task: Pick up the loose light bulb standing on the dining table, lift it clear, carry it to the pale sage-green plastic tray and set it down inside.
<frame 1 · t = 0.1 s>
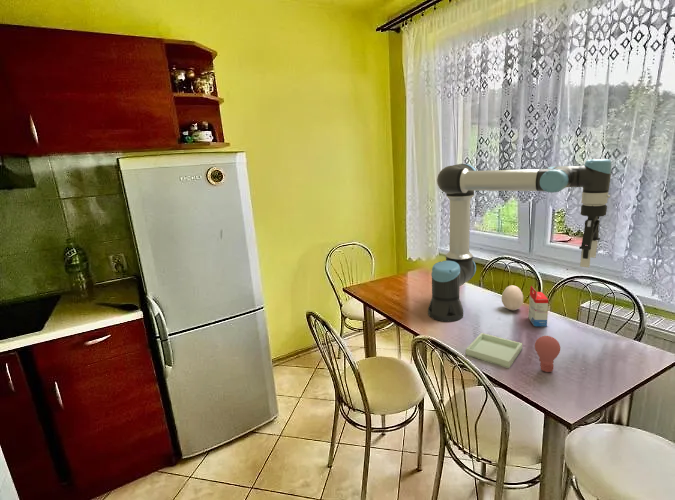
hand: (588, 261, 135), 28 cm above the table, fingers open, 13 cm apart
tray: (494, 352, 132), on the table
egg: (511, 310, 165), on the table
light bulb: (545, 371, 120), on the table
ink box: (537, 322, 152), on the table
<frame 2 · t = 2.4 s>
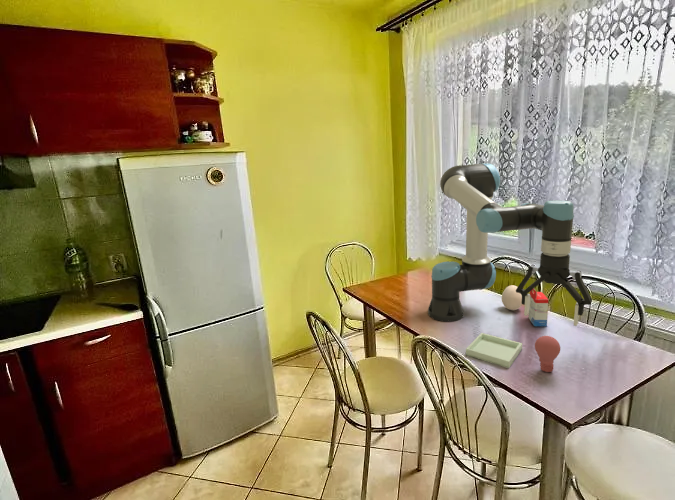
hand: (550, 319, 115), 18 cm above the table, fingers open, 13 cm apart
nothing on the table moved.
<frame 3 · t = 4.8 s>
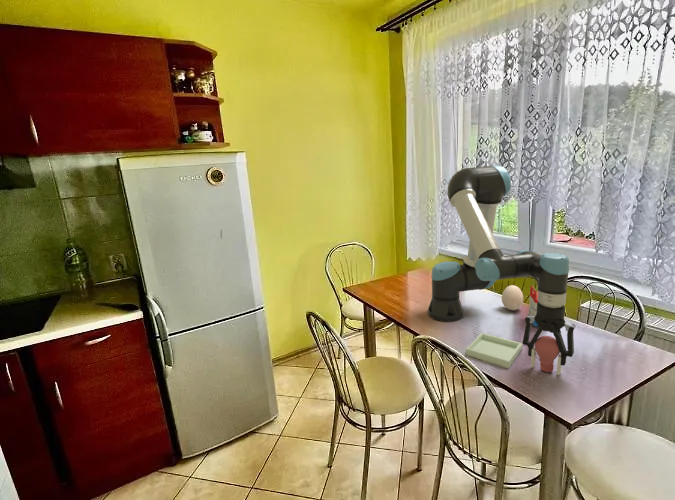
hand: (545, 369, 120), 1 cm above the table, fingers closed on light bulb, 7 cm apart
light bulb: (545, 371, 120), on the table, touching gripper
everything else where it was.
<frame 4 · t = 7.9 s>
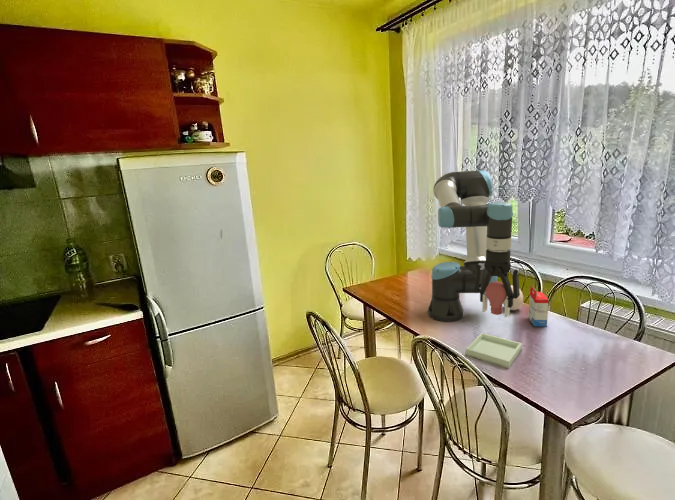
hand: (495, 313, 128), 15 cm above the table, fingers closed on light bulb, 7 cm apart
light bulb: (495, 314, 129), point 15 cm above the table, touching gripper
everything else where it was.
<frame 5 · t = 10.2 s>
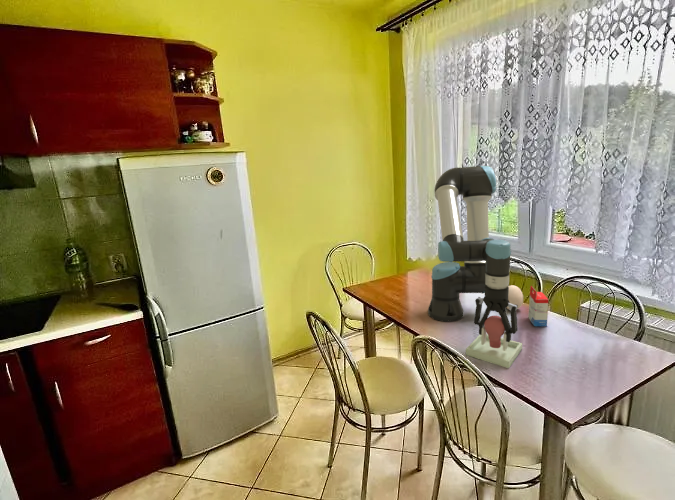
hand: (494, 345, 132), 3 cm above the table, fingers closed on light bulb, 7 cm apart
light bulb: (494, 347, 132), point 2 cm above the table, touching gripper
everything else where it was.
when the fingers open (3 cm above the table, at t = 10.9 s): light bulb drops 1 cm, resting on tray.
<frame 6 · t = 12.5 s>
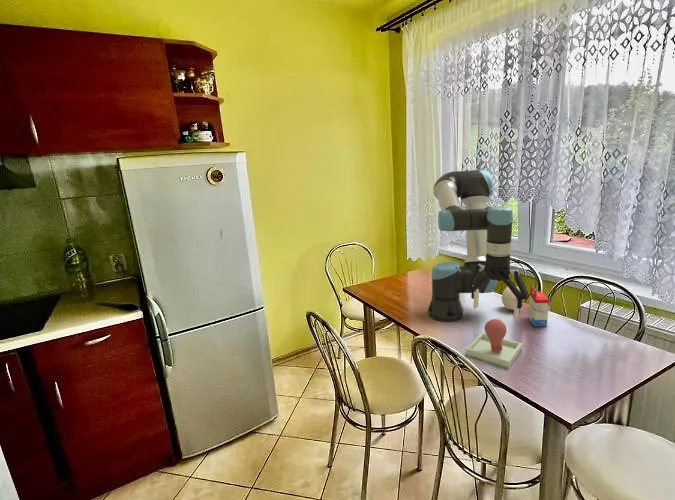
hand: (495, 311, 129), 16 cm above the table, fingers open, 13 cm apart
light bulb: (495, 351, 132), resting on tray
everything else where it was.
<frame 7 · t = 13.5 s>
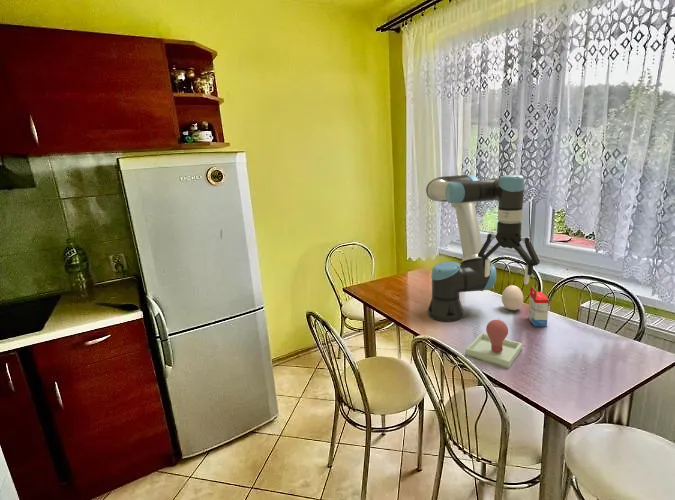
hand: (506, 279, 132), 25 cm above the table, fingers open, 13 cm apart
nothing on the table moved.
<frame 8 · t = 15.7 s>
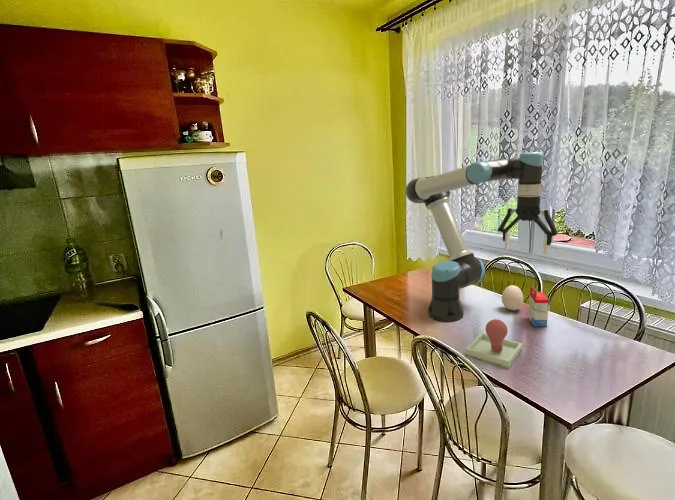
hand: (525, 251, 141), 32 cm above the table, fingers open, 13 cm apart
nothing on the table moved.
at the end: light bulb 0.6 cm from the tray (horizontally); light bulb resting on tray; light bulb touching tray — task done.
